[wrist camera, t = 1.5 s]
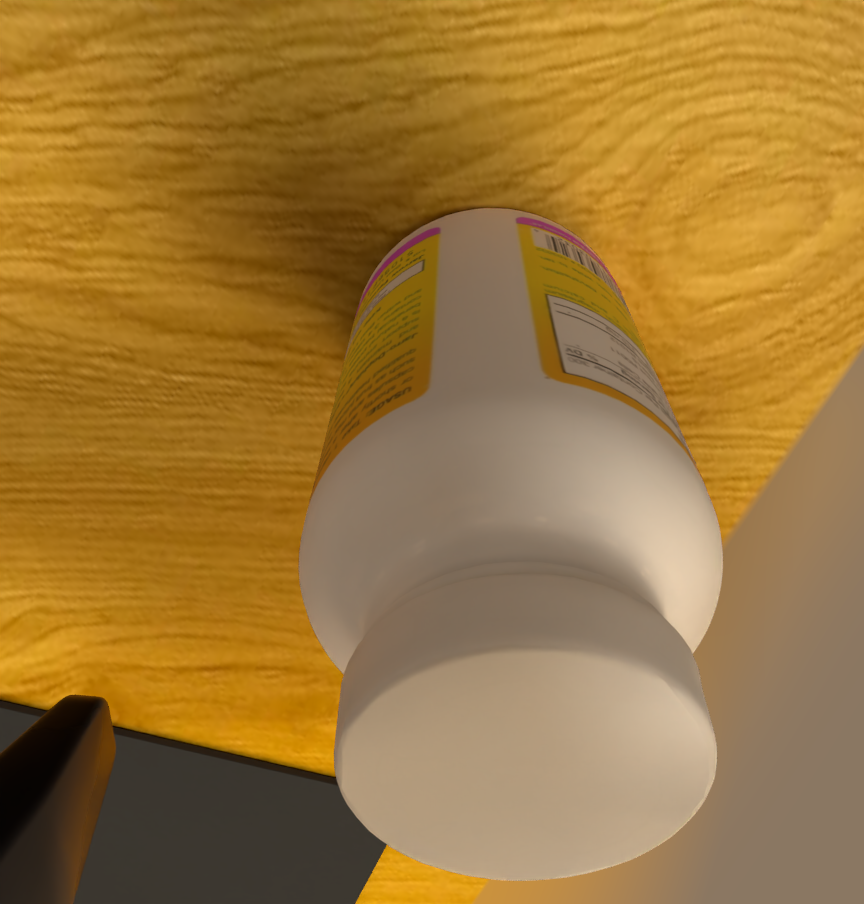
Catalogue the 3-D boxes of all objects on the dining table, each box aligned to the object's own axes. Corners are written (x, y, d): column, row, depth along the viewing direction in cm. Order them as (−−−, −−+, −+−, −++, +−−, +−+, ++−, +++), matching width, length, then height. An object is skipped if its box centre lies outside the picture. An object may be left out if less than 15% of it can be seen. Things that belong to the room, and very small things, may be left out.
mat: (410, 795, 31) (410, 802, 31) (299, 1001, 41) (298, 1008, 41) (-82, 681, 29) (-87, 687, 28) (-78, 930, 38) (-82, 937, 38)
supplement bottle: (370, 445, 23) (286, 923, 12) (342, 206, 19) (188, 580, 8) (615, 438, 22) (756, 924, 12) (633, 192, 19) (865, 566, 8)
